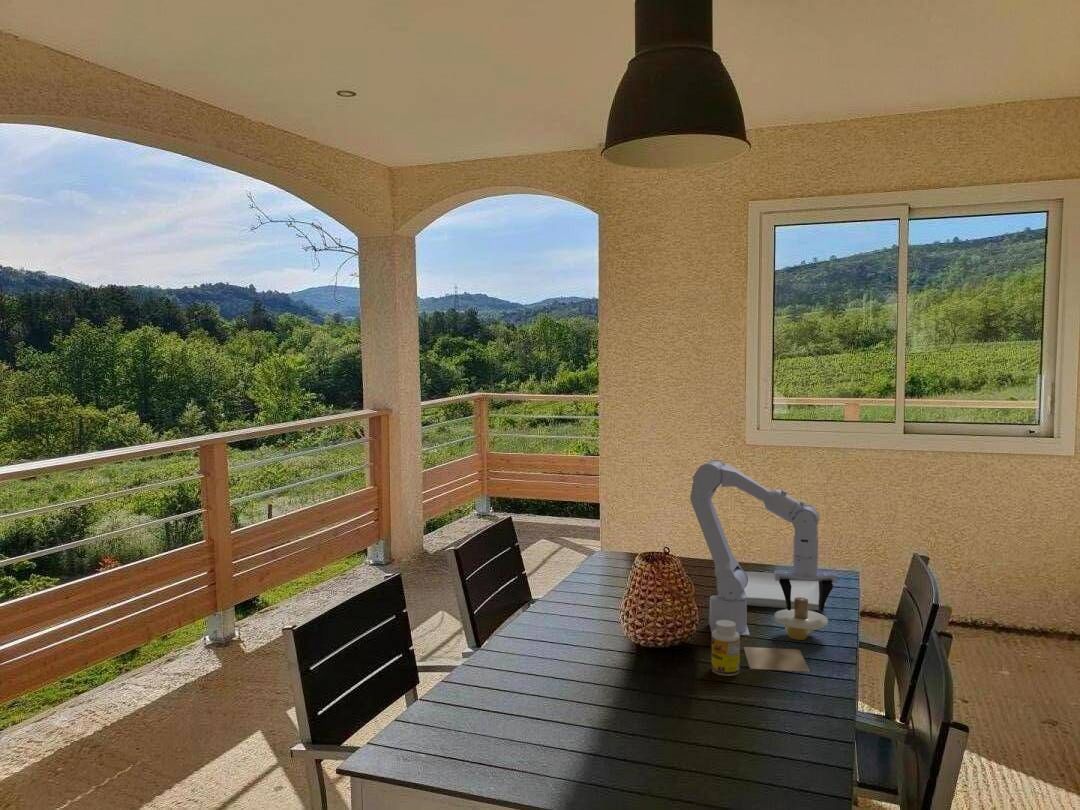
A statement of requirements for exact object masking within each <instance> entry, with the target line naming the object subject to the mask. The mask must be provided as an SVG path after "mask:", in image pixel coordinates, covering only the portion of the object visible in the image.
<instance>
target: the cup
mask: <svg viewBox="0 0 1080 810" xmlns="http://www.w3.org/2000/svg"><path fill="white" fill-rule="evenodd" d="M784 628H785V632H786V633H787V636H788V637H789V639H793V640H797V641H798V640H799V641H802V640H806V639H807V638H808V636H809V634H810V633H812V632H814V631H815V630H816V629H799V628H793V627H789V626H785V625H784Z"/></svg>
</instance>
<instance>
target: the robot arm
mask: <svg viewBox="0 0 1080 810" xmlns="http://www.w3.org/2000/svg"><path fill="white" fill-rule="evenodd" d="M720 485H721V488H724V487H725V488H726V487H727V488H728V487H729V488H730V487H735V488H737V489H739V490H741V491H742V492H745V493H746V494H748V495H750V496H752V497H754V498H756V499H758V500H760V501H762V502H763V504H764V507H765V509H766V510H767V511H769V512H771V513H772V514H774V515H776V516H778V517H780V519H783V520H785V521H786V522H788V523H791V524H792V526H793V528H794V536H793V551H792V553H793V558H792V559H793V560H792V561H793V563H792V565H793V566H792V568H793V569H792V570H791V569H790V570H774V572H773V573H774V579H775V581H779V583H780V585H781V587H782V590H783V593H784V596H785V600H786V606H787V609H788V610H791V584H790V581H789V580H792V581H819V610H818V611H819V612H824V609H825V607H826V606H825V602H827V599H828V597H829V595H830V593H831V592H832V590H833V587H834V585H833V583H834V584H838V575H837V574H836V572H824V571H818V567H819V566H818V565H819V563H818V562H819V537H818V535H819V530H818V524H819V521H820V515H819V511H818V510H817V509H816V508H815V507H814V506H813V505H811V504H805V503H806V502H804V501H802V500H800V501H799V500H797V499H795V498H793V497H792V496H791V495H788V491H787V490H785V489H782V490H780V489H777V488H776V489H773V490H770V489H768V488H767V487H765V486H763V485H762V484H761V483H759V482H757V481H756V480H754V479H752V478H751V477H749V476H748V475H746V474H744V473H743V472H741V471H740V470H739V469H737V468H735V467H734V466H732V465H731V464H727V463H726V464H725V463H724V462H723V461H721V460H719V459H711V460H709V461H707V462H706V463H704V464H702V465H700V466H699V467H698V469H697V470H696V471H695V473H694V474H693V476H692V486H691V491H690V496H689V497H690V498H689V501H690V502H691V505H692V509H693V511H694V514H695V515H696V519H697V521H698V524H699V526H700V530H701V531H702V534H703V537H704V539H705V542H706V545H707V547H708V550H709V553H710V556H711V558H712V561H713V562H714V574H715V575H714V576H715V578H716V589H717V595H710V597H709V617H708V625H709V630H710V632H711V634H712V632H713V631H714V630H716V628H715V627H716V622H717V621H719V620H729V621H733V622H734V623H735V624H736V632H738V633H739V635H740V636H743V635H744V636H750V635H751V634H750V632H749V628H748V625H747V623H748V622H747V619H748V617H747V616H748V612H747V610H748V605H747V595H746V593H745V591H744V588H745V587H746V586H747V583H748V577H747V574H746V573H745V572H746V571H745V570H744V569H743V568H742V567H741V566H740V564H739V561H738V560H737V559H736V557H734V555H733V552H732V550H731V547H730V545H729V544H730V543H729V542H728V540H727V537H726V535H725V532H724V529H723V526H722V524H721V521H720V519H719V517H718V513H717V511H716V508H715V506H714V503H713V501H712V498H713V496H714V495H715V492H716V491H717V488H718V487H720ZM824 606H825V607H824Z"/></svg>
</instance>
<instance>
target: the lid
mask: <svg viewBox="0 0 1080 810" xmlns="http://www.w3.org/2000/svg"><path fill="white" fill-rule="evenodd" d="M774 620H775V621H776V622H777V623H778V624H780V625H783V626H784V627H785V626H789V627H793V628H799V629H815V630H817V629H818V630H819V629H822V628H825V627H827V626H828V624H829V619H828V617H827V616H826V615H824V614H821V613H819V612H816V611H814V610H808V599H806V598H802V597H797V598H795V600H794V609H791V610H788V609H781V610H777V611H776V612H775V613H774Z"/></svg>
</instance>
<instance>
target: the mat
mask: <svg viewBox="0 0 1080 810" xmlns="http://www.w3.org/2000/svg"><path fill="white" fill-rule="evenodd" d="M743 649H744V650H743V651H744V653H745V656H746V660H747V664H748V667H749V670H765V671H767V670H768V671H786V672H787V671H788V672H801V673H802V672H804V673H805V672H806V673H807V672H808V673H810V672H811V671H810V669H809V666H808V664H807V662H806V660H805V658H804V656H803V655H802V651H801V650H800V649H795V648H794V649H792V648H776V647H773V648H771V647H755V646H754V647H752V646H751V647H750V646H743Z"/></svg>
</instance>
